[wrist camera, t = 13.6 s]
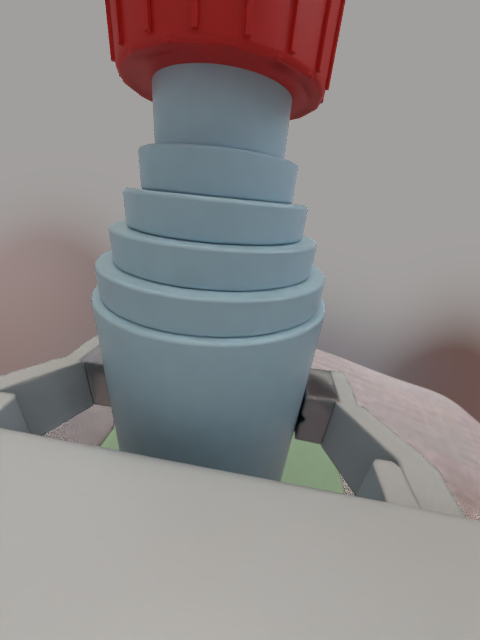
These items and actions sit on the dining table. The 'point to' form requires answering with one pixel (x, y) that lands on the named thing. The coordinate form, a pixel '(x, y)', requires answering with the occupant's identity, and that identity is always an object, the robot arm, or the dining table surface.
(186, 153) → the bottle
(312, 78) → the cap
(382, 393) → the dining table surface
